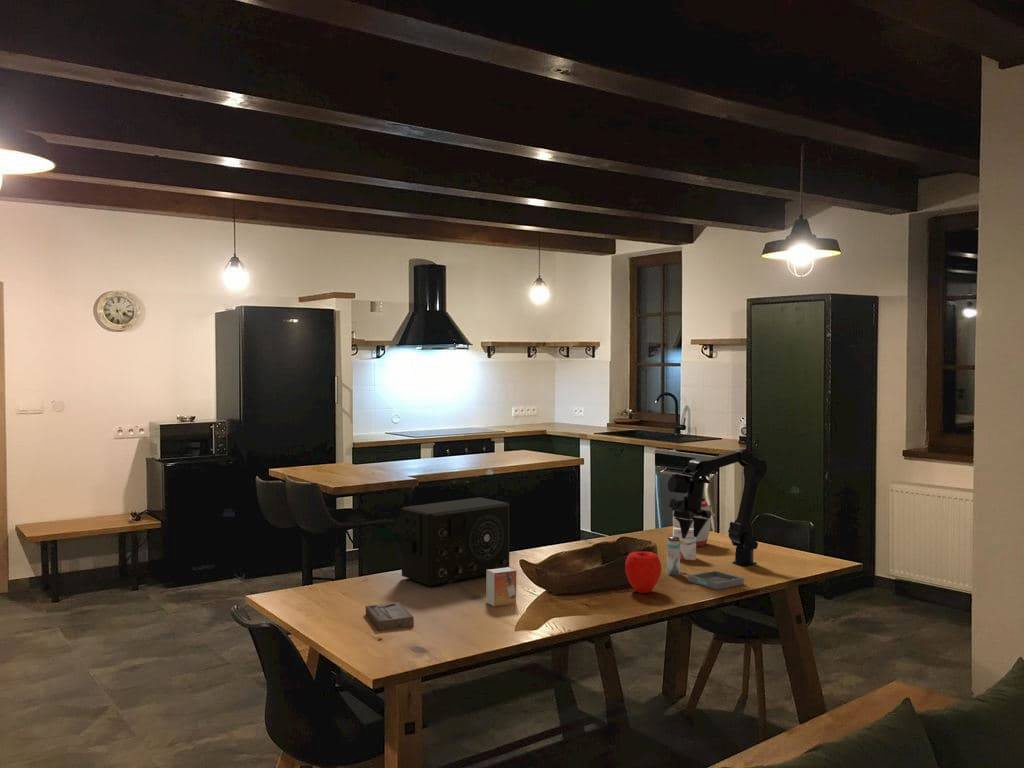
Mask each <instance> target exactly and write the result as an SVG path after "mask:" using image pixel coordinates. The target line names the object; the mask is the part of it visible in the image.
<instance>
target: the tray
mask: <svg viewBox="0 0 1024 768" xmlns="http://www.w3.org/2000/svg"><path fill="white" fill-rule="evenodd" d="M687 579H688V581H687V582H688V583H691V584H695V585H699V586H702V587H707V588H709V589H714V590H716V591H717V590H724V589H728V588H732V587H736V586H741V585H744V583H745V578H744V577H742V576H737V575H733V574H730V573H726V572H722V571H719V570H716V569H715V570H710V571H704V572H700V573H694V574H689V575H688V578H687Z"/></svg>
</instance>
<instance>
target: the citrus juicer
mask: <svg viewBox="0 0 1024 768" xmlns="http://www.w3.org/2000/svg"><path fill="white" fill-rule="evenodd" d="M701 509H704V510H709V511H710V513H711V517H715V516H716V515H715V513H714V512H713V511H712V504H708V502H707V501H702V507H701ZM674 511H675V510H674ZM674 511H672V514H673V513H674ZM674 519H675V517H674V516H673V515H672V528H673V527H674ZM705 519H709V520H708V521H707V522H706V524H705V525H704V526H703V528H702V530H701V531H700V533H699V534H698V536H697V537H696V547H704V546H705V545H707V542H708V539H709V536H710V531H711V518H706V517H705ZM690 520H692V519H690Z"/></svg>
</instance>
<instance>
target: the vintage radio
mask: <svg viewBox="0 0 1024 768" xmlns="http://www.w3.org/2000/svg"><path fill="white" fill-rule="evenodd" d="M400 551H401V576H402V577H403V578H406V579H409V581H416V582H418V583H421V584H424V585H426V586H429V587H430V588H436V587H437V586H438V585H440V584H446V583H450V582H451V583H452V582H455V581H461V580H466V579H470V578H475V577H480V576H486V570H488V569H499V568H506V567H510V502H505V501H500V500H496V499H489V498H486V497H485V498H484V497H480V496H479V497H472V498H471V497H470V498H463V499H459V500H458V499H456V500H447V501H440V502H433V503H426V504H418V505H410V506H403V507H401V508H400Z"/></svg>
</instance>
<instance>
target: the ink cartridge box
mask: <svg viewBox="0 0 1024 768" xmlns="http://www.w3.org/2000/svg"><path fill="white" fill-rule="evenodd" d="M672 536H675V537H679V540H680V561H683V560H685V561H686V560H687V561H696V560H697V546H696V537H694V521H693V522H692V524H691V526H690V529H689V531H688V534H687V536H686V538H682V533H681V528H680V523H679V522H678V520H677V519H674V527H673V526H672Z"/></svg>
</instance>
